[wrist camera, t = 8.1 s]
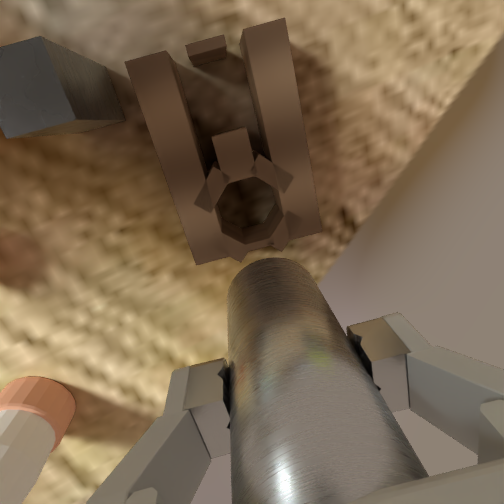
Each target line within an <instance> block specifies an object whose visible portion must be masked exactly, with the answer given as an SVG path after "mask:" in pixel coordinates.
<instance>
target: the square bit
mask: <svg viewBox="0 0 504 504" xmlns="http://www.w3.org/2000/svg"><path fill="white" fill-rule="evenodd" d="M122 121H126V120H125V117H124V114H123V112H122V109H121V106H120V104H119V101H118V98H117V96H116V93H115V90H114V88H113V85H112V82H111V80H110V77H109V74H108V72H107V69H106V67H104V66H102V65H100V64H98V63H96V62H94V61H92V60H90V59H87V58H85V57H83V56H81V55H79V54H77V53H75V52H73V51H71V50H69V49H67V48H64V47H62V46H60V45H58V44H56V43H54V42H52V41H50V40H48V39H46V38H44V37H41V36H39V37H35V38H32V39H28V40H24V41H21V42H17V43H13V44H10V45H6V46H3V47H0V127H1V129H2V131H3V133H4V135H5V137H6V139H10V138H23V137H36V136H48V135H61V134H74V133H82V132H85V131H89V130H93V129H96V128H100V127H104V126H107V125H111V124H115V123H118V122H122Z"/></svg>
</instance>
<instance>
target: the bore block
mask: <svg viewBox="0 0 504 504" xmlns="http://www.w3.org/2000/svg"><path fill="white" fill-rule="evenodd" d="M185 46H186V49H187V53H188V56H189V58H190V60H191V62H192V65H193V67H194V66H198V65H202V64H205V63H209V62H212V61H216V60H220V59H223V58H226V47H227V45H226V41H225V37H224V35H220V36H217V37H213V38H209V39H206V40H202V41H198V42H195V43H191V44H188V45H185ZM240 48H241V53H242V57H243V62H244V66H245V70H246V75H247V79H248V84H249V88H250V92H251V97H252V101H253V106H254V110H255V114H256V119H257V123H258V128H259V132H260V137H261V141H262V145H263V150H264V154H265V157H264V156H263V155H261V154H260V153H258V152H256V151H255V150H253V152H252V149H251V145H250V141H249V137H248V133H247V129H246V128H245V127H241V128H237V129H233V130H230V131H226V132H222V133H219V134H215V135H213V136H212V141H213V145H214V148H215V152H216V155H217V159H218V162H219V163H218V162H216V161H215V160H214V162H213V164H212V166H211V168H210V169H209V171H207V168H206V164H205V161H204V158H203V154H202V151H201V148H200V144H199V141H198V138H197V134H196V131H195V128H194V124H193V121H192V118H191V114H190V111H189V108H188V104H187V101H186V98H185V94H184V91H183V88H182V84H181V81H180V78H179V74H178V71H177V68H176V64H175V61H174V60H173V59H172V58H171V56H170V55H169V54H168V52H167V51H162V52H159V53H155V54H151V55H148V56H144V57H140V58H137V59H133V60H129V61H126V62H125V65H126V68H127V70H128V73H129V76H130V79H131V82H132V85H133V87H134V90H135V93H136V96H137V99H138V102H139V104H140V107H141V110H142V113H143V116H144V119H145V121H146V124H147V127H148V130H149V133H150V136H151V138H152V141H153V144H154V147H155V150H156V153H157V155H158V158H159V161H160V164H161V167H162V170H163V172H164V175H165V178H166V181H167V184H168V187H169V189H170V192H171V195H172V198H173V201H174V204H175V206H176V209H177V212H178V215H179V218H180V220H181V223H182V226H183V229H184V232H185V235H186V237H187V240H188V243H189V246H190V249H191V252H192V254H193V257H194V260H195V263H196V265H200V264H203V263H207V262H211V261H215V260H218V259H222V258H226V257H231V258H233V259H235V260H237V261H239V262H242V261H243V259H244V257H245V256H246V254H247V253H248V251H252V250H256V249H259V248H263V247H267V246H272V247H274V248H276V249H278V250H279V251H281V252H282V251H283V249H284V248H285V246H286V245H287V243H288V241H289V240H293V239H297V238H300V237H304V236H308V235H312V234H315V233H319V232H322V227H321V221H320V215H319V209H318V204H317V198H316V192H315V186H314V181H313V175H312V169H311V163H310V158H309V152H308V146H307V141H306V135H305V129H304V123H303V118H302V112H301V106H300V100H299V95H298V89H297V83H296V77H295V72H294V66H293V60H292V54H291V49H290V43H289V37H288V32H287V26H286V20H285V18H282V19H278V20H275V21H271V22H267V23H264V24H260V25H257V26H253V27H249V28H246V29H243V32H242V36H241V40H240ZM253 176H256V177H257V178H259V179H261V180H262V181H264V182H266V183H267V184H269V185H271V186H272V190H273V194H274V198H275V203H276V204H275V205H274V207H273V208H272V210H271V212H270V213H269V215H268V216H267V218H266V220H265V221H264V223H261V224H257V225H254V226H250V227H246V228H243V229H241V228H239V227H237V226H236V225H234V224H232V223H230V222H228V221H226V220H224V219H223V218H221V214H220V211H219V208H218V204H217V201H218V200H219V198H220V196H221V194H222V193H223V191H224V189H225V187H226V185H227V184H228V183H231V182H235V181H238V180H242V179H246V178H249V177H253Z"/></svg>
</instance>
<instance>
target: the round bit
mask: <svg viewBox="0 0 504 504" xmlns="http://www.w3.org/2000/svg"><path fill="white" fill-rule="evenodd" d="M227 321H228V362H229V404H230V445H231V486H232V504H347V503H350V502H352V501H354V500H356V499H359V498H361V497H363V496H366V495H368V494H369V493H371V492H374V491H377V490H379V489H382V488H386V487H390V486H394V485H398V484H402V483H406V482H410V481H414V480H418V479H422V478H426V477H429V475H428V474H427V472H426V470H425V469H424V467H423V465H422V463H421V462H420V460H419V458H418V457H417V455H416V453H415V452H414V450H413V448H412V446H411V445H410V443H409V441H408V440H407V438H406V436H405V435H404V433H403V431H402V430H401V428H400V426H399V424H398V423H397V421H396V419H395V417H394V416H393V414H392V412H391V411H390V409H389V407H388V405H387V404H386V402H385V400H384V399H383V397H382V395H381V394H380V392H379V390H378V388H377V387H376V385H375V383H374V382H373V380H372V378H371V377H370V375H369V373H368V371H367V370H366V368H365V366H364V365H363V363H362V361H361V359H360V358H359V356H358V354H357V353H356V351H355V349H354V348H353V346H352V344H351V342H350V341H349V339H348V337H347V336H346V334H345V332H344V331H343V329H342V327H341V326H340V324H339V322H338V320H337V319H336V317H335V315H334V313H333V312H332V310H331V308H330V307H329V305H328V303H327V301H326V300H325V298H324V296H323V295H322V293H321V291H320V290H319V288H318V286H317V284H316V283H315V281H314V279H313V278H312V276H311V275H310V273H309V272H308V271H307V270H306V269H305V268H304V267H303V266H301V265H300V264H298V263H296V262H294V261H292V260H289V259H284V258H266V259H261V260H258V261H255V262H253V263H251V264H249V265H248V266H246V267H245V268H244V269H242V270H241V271H240V272H239V273H238V274H237V275H236V277H235V278H234V279H233V281H232V283H231V285H230V287H229V290H228V295H227Z"/></svg>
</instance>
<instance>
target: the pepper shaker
mask: <svg viewBox="0 0 504 504" xmlns="http://www.w3.org/2000/svg"><path fill="white" fill-rule="evenodd" d="M75 410H76V405H75V400H74V398H73V396H72V394H71V393H70V392H69V391H68V390H67V389H66V388H65V387H64V386H63V385H61V384H59V383H57V382H55V381H53V380H50V379H46V378H42V377H24V378H20V379H16V380H14V381H12V382H11V383H9V384H7V385H6V387H5V388H4V389H3V390H2V391H1V393H0V504H22V502H23V501H24V499H25V498H26V496H27V495H28V494H29V492H30V491H31V489H32V488H33V486H34V485H35V483H36V481H37V479H38V477H39V475H40V473H41V471H42V469H43V467H44V465H45V463H46V461H47V458H48V456H49V454H50V453H51V452H53V451H54V450H55V448H56V447H57V446H58V445H59V444H60V442H61V440H62V438H63V436H64V434H65V432H66V430H67V428H68V426H69V424H70V422H71V420H72V418H73V416H74V413H75Z"/></svg>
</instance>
